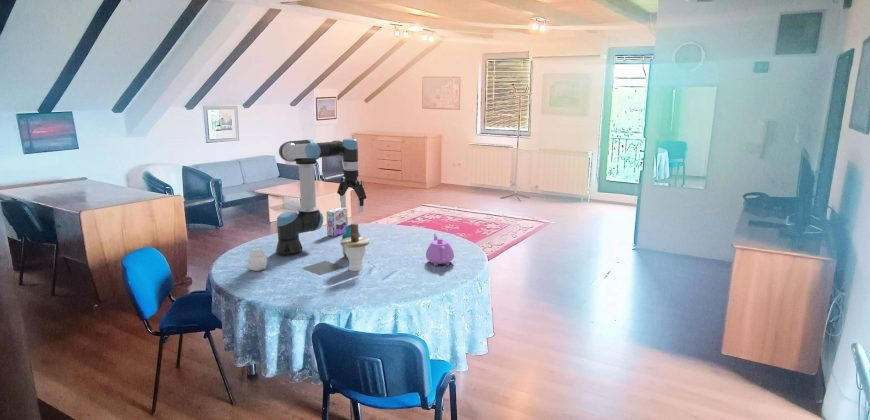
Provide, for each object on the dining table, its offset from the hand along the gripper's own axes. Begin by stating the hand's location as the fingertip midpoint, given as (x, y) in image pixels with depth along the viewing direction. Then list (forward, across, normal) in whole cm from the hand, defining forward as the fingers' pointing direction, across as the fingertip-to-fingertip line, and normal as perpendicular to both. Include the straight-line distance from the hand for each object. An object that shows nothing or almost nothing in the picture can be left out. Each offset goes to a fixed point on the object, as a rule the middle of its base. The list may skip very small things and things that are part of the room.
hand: (352, 209), depth 277 cm
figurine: (+33, -37, -34) cm, 60 cm away
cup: (+33, +2, 0) cm, 33 cm away
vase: (+33, -14, +11) cm, 37 cm away
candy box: (+34, -60, +38) cm, 78 cm away
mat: (+33, -12, -11) cm, 37 cm away
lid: (+18, +2, 0) cm, 18 cm away
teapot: (+33, +27, +39) cm, 58 cm away
